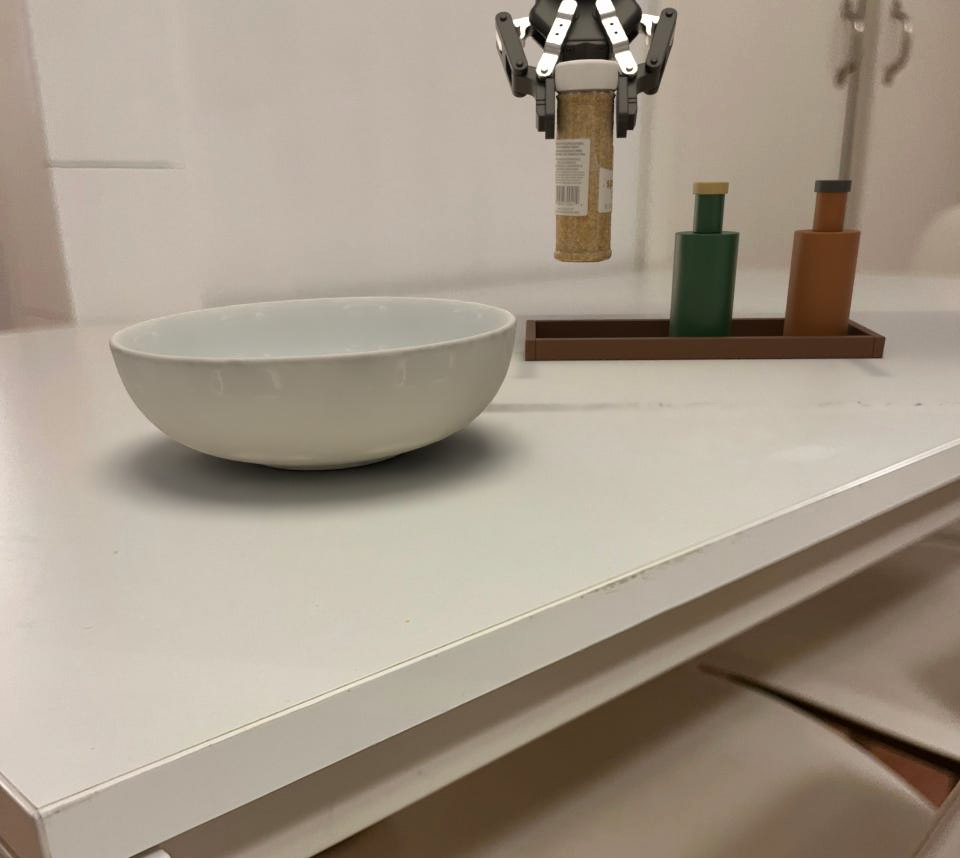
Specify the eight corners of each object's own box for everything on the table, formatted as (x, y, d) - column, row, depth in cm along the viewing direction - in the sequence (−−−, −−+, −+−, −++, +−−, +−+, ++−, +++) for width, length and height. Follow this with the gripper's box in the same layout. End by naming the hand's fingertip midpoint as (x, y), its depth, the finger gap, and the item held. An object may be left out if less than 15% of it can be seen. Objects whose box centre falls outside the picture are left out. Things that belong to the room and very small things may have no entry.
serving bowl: (230, 403, 67) (217, 294, 64) (542, 412, 63) (543, 296, 60) (48, 496, 49) (17, 349, 46) (472, 517, 45) (469, 358, 42)
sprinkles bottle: (622, 261, 77) (631, 58, 71) (570, 264, 75) (574, 57, 70) (592, 256, 81) (597, 64, 75) (542, 259, 79) (543, 63, 73)
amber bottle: (835, 341, 82) (857, 179, 77) (852, 351, 78) (876, 180, 72) (776, 341, 82) (793, 180, 77) (789, 351, 78) (808, 181, 73)
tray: (842, 342, 85) (846, 316, 84) (881, 366, 75) (886, 336, 74) (526, 345, 86) (526, 319, 85) (524, 368, 77) (525, 339, 76)
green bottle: (724, 342, 82) (737, 181, 77) (734, 352, 78) (749, 182, 73) (664, 342, 83) (674, 182, 78) (672, 352, 78) (682, 183, 73)
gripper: (490, -88, 75) (485, 87, 69) (683, -94, 74) (694, 83, 69) (493, 5, 82) (489, 171, 76) (670, 1, 81) (679, 168, 76)
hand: (586, 128), depth 73 cm, fingers closed on sprinkles bottle, 4 cm apart
